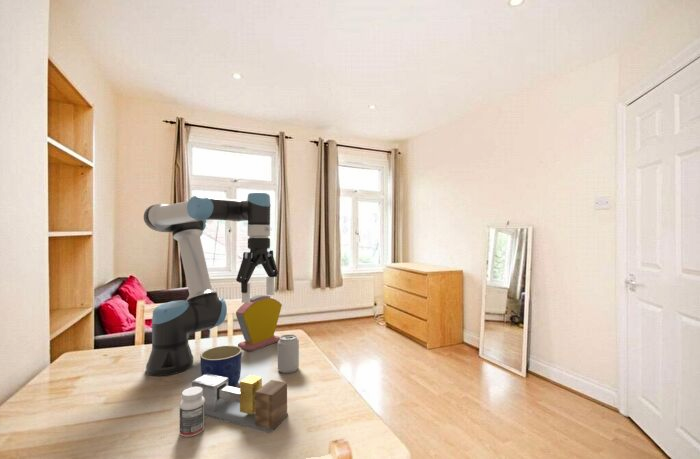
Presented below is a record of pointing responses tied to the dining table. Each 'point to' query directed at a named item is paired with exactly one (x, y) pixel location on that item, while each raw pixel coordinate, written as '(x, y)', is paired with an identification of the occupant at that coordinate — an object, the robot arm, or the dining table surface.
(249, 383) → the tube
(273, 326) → the yellow fan-shaped sign
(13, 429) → the dining table surface
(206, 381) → the sleeve
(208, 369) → the planter
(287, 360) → the can
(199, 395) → the pill bottle
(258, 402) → the socket
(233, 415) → the board
